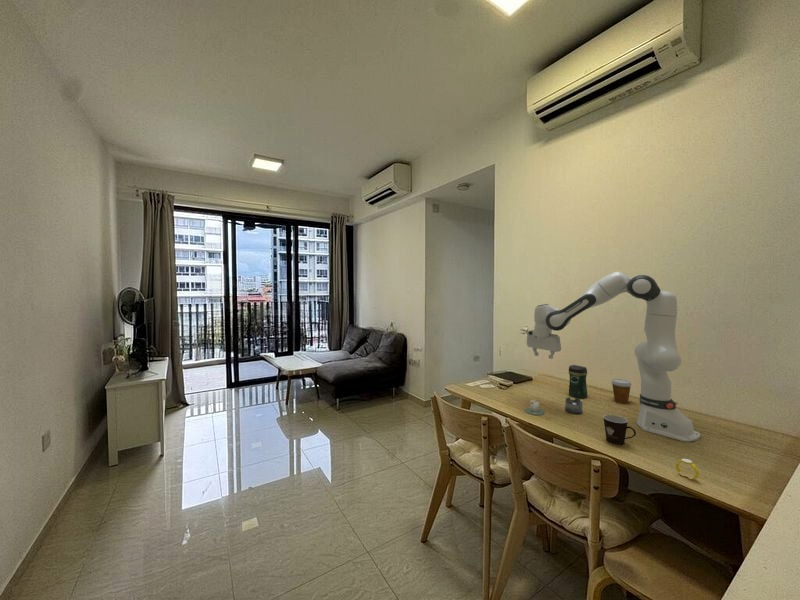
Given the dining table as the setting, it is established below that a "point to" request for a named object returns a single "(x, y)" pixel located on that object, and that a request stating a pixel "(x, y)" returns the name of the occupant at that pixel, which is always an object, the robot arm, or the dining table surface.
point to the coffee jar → (577, 381)
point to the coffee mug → (616, 429)
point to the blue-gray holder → (573, 406)
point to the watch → (687, 463)
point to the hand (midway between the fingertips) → (543, 357)
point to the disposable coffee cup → (621, 390)
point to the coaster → (534, 412)
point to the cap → (534, 406)
